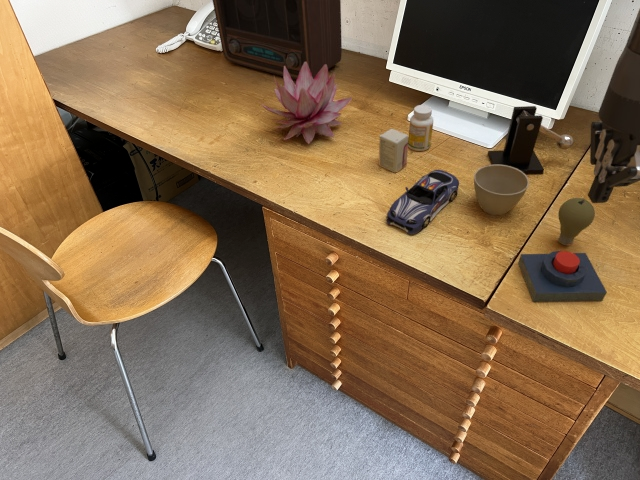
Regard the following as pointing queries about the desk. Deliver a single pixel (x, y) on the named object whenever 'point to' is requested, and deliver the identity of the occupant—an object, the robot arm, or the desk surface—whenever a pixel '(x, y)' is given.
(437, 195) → the toy car
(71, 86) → the desk surface
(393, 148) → the small box
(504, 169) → the beige bowl
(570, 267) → the button
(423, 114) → the supplement bottle
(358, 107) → the desk surface
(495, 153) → the black lever stand
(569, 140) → the grey rod with ball
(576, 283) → the control block
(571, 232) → the light bulb
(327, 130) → the decorative flower
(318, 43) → the radio
